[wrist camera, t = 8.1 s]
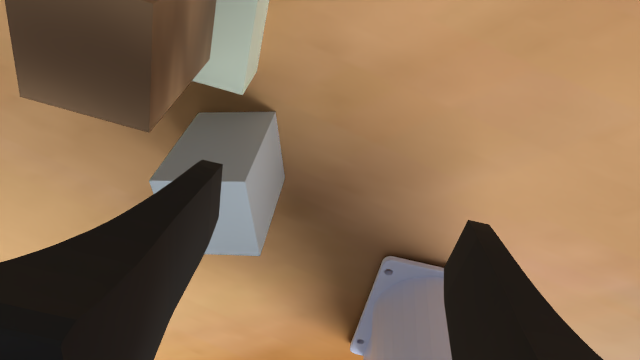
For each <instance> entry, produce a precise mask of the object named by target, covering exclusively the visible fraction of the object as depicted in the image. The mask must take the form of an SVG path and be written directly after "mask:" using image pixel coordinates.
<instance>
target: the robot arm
mask: <svg viewBox="0 0 640 360" xmlns="http://www.w3.org/2000/svg"><path fill="white" fill-rule="evenodd" d="M222 170H223V164H220V163H215V162H211V161H207V160H201V161H199V162H197V163H196V164H195V165H193V166H192V167H191V168H189V169H188V170H187V171H185V172H184V173H183V174H181V175H180V176H179V177H177V178H176V179H175V180H173V181H172V182H171V183H169V184H168V185H166V186H165V187H163V188H162V189H161V190H159V191H158V192H156V193H155V194H153V195H152V196H150V197H149V198H147V199H146V200H144V201H143V202H141V203H139V204H138V205H136V206H134V207H133V208H131V209H130V210H128V211H126V212H125V213H123V214H121V215H119V216H117V217H116V218H114V219H112V220H110V221H108V222H106V223H104V224H102V225H100V226H98V227H96V228H94V229H92V230H90V231H87V232H85V233H83V234H80V235H78V236H75V237H73V238H71V239H68V240H66V241H63V242H61V243H58V244H56V245H53V246H50V247H48V248H45V249H42V250H39V251H36V252H33V253H30V254H27V255H24V256H21V257H18V258H14V259H11V260H8V261H4V262H0V360H154V358H155V355H156V352H157V350H158V348H159V345H160V343H161V340H162V338H163V335H164V333H165V330H166V328H167V325H168V323H169V321H170V319H171V316H172V314H173V312H174V310H175V308H176V306H177V304H178V302H179V301H180V299H181V297H182V295H183V293H184V291H185V289H186V287H187V286H188V284H189V282H190V280H191V278H192V276H193V274H194V272H195V270H196V269H197V267H198V265H199V263H200V261H201V259H202V257H203V255H204V253H205V251H206V249H207V248H208V245H209V243H210V240H211V237H212V235H213V232H214V229H215V227H216V224H217V221H218V218H219V208H220V195H221V183H222ZM386 269H390V271H389V270H386ZM350 350H351V352H353V353H355V354H358V355H363V356H364V359H363V360H603V359H602V358H601V357H600V356H599V355H598V354H596V353H595V352H594V351H593V350H592V349H591V348H590V347H589V346H588V345H587V344H586V343H585V342H584V341H583V340H582V339H581V338H580V337H579V336H578V335H577V334H576V333H575V332H574V331H573V330H572V329H571V328H570V327H569V326H568V325H567V324H566V323H565V321H564V320H563V319H562V318H561V317H560V316H559V315H558V314H557V313H556V311H555V310H554V309H553V308H552V307H551V306H550V304H549V303H548V302H547V301H546V300H545V298H544V297H543V296H542V295H541V294H540V292H539V291H538V290H537V289H536V287H535V286H534V285H533V284H532V282H531V281H530V280H529V278H528V277H527V276H526V274H525V273H524V272H523V270H522V269H521V268H520V266H519V265H518V264H517V262H516V261H515V260H514V258H513V257H512V255H511V254H510V253H509V251H508V250H507V248H506V247H505V246H504V244H503V243H502V241H501V240H500V239H499V237H498V236H497V235H496V233H495V232H494V230H493V229H492V228H491V227H490V225H488V224H484V223H479V222H475V221H470V220H468V222H467V224H466V226H465V228H464V229H463V231H462V233H461V235H460V237H459V239H458V241H457V243H456V245H455V247H454V249H453V251H452V253H451V255H450V257H449V259H448V261H447V263H446V265H445V267H444V268H442V267H438V266H434V265H429V264H425V263H420V262H416V261H411V260H407V259H403V258H398V257H394V256H388V257H385V258H384V259H383V261H382V263H381V266H380V268H379V271H378V274H377V276H376V279H375V282H374V284H373V287H372V289H371V292H370V295H369V297H368V300H367V302H366V305H365V308H364V310H363V313H362V316H361V318H360V321H359V323H358V326H357V329H356V331H355V334H354V336H353V339H352V342H351V344H350Z"/></svg>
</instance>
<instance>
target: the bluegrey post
mask: <svg viewBox="0 0 640 360" xmlns="http://www.w3.org/2000/svg"><path fill="white" fill-rule="evenodd" d="M201 160H207V161H211V162H215V163H220V164H223V170H222V183H221V195H220V208H219V218H218V221H217V224H216V227H215V229H214V232H213V235H212V237H211V240H210V243H209V245H208V248H207V249H206V251H205V253H204V254H217V255H246V256H260V254H261V251H262V248H263V245H264V242H265V239H266V236H267V233H268V230H269V226H270V223H271V220H272V217H273V214H274V211H275V208H276V205H277V201H278V198H279V195H280V192H281V189H282V186H283V183H284V180H285V175H284V168H283V161H282V153H281V146H280V139H279V132H278V125H277V118H276V112H200V113H198V114H197V115H196V117H195V118H194V119H193V121H192V122H191V124H190V125H189V126H188V128H187V129H186V130H185V132H184V133H183V135H182V136H181V137H180V139H179V140H178V141H177V143H176V144H175V146H174V147H173V148H172V150H171V151H170V152H169V154H168V155H167V157H166V158H165V159H164V161H163V162H162V164H161V165H160V166H159V168H158V169H157V170H156V172H155V173H154V175H153V176H152V177H151V179H150V180H149V182H150V185H151V188H152V191H153V194H155V193H156V192H158V191H159V190H161V189H162V188H163V187H165V186H166V185H168V184H169V183H171V182H172V181H173V180H175V179H176V178H177V177H179V176H180V175H181V174H183V173H184V172H185V171H187V170H188V169H189V168H191V167H192V166H193V165H195V164H196V163H197V162H199V161H201Z"/></svg>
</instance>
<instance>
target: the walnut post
mask: <svg viewBox="0 0 640 360" xmlns="http://www.w3.org/2000/svg"><path fill="white" fill-rule="evenodd" d="M5 5H6V11H7V17H8V24H9V30H10V36H11V42H12V49H13V55H14V61H15V68H16V74H17V80H18V86H19V93H20V97H23V98H26V99H30V100H34V101H37V102H41V103H44V104H48V105H52V106H55V107H59V108H62V109H66V110H70V111H73V112H77V113H80V114H84V115H88V116H91V117H95V118H98V119H102V120H106V121H109V122H113V123H116V124H120V125H124V126H127V127H131V128H134V129H138V130H142V131H145V132H150V131H151V130H152V129H153V127H154V126H155V125H156V124H157V123H158V121H159V120H160V119H161V118H162V117H163V115H164V114H165V113H166V112H167V110H168V109H169V108H170V107H171V106H172V104H173V103H174V102H175V101H176V100H177V98H178V97H179V96H180V95H181V93H182V92H183V91H184V90H185V89H186V87H187V86H188V85H189V84H190V83H191V81H192V80H193V79H194V78H195V77H196V75H197V74H198V73H199V72H200V70H201V69H202V68H203V67H204V66H205V64H206V63H207V62H208V61H209V60H210V52H211V44H212V35H213V26H214V17H215V9H216V0H5Z"/></svg>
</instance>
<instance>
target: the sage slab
mask: <svg viewBox="0 0 640 360" xmlns="http://www.w3.org/2000/svg"><path fill="white" fill-rule="evenodd" d="M268 4H269V0H216V9H215V17H214V26H213V35H212V44H211V52H210V60H209V61H208V62H207V63H206V64H205V66H204V67H203V68H202V69H201V70H200V72H199V73H198V74H197V75H196V77H195V78H194V79H193V80H192V81H194V82H198V83H201V84H205V85H209V86H212V87H216V88H219V89H223V90H226V91H230V92H233V93H237V94H241V95H243V94H244V92H245V90H246V89H247V87H248V85H249V84H250V82H251V80H252V79H253V77H254V75H255V74H256V72H257V67H258V62H259V56H260V50H261V44H262V39H263V33H264V27H265V21H266V16H267V10H268Z"/></svg>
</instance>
